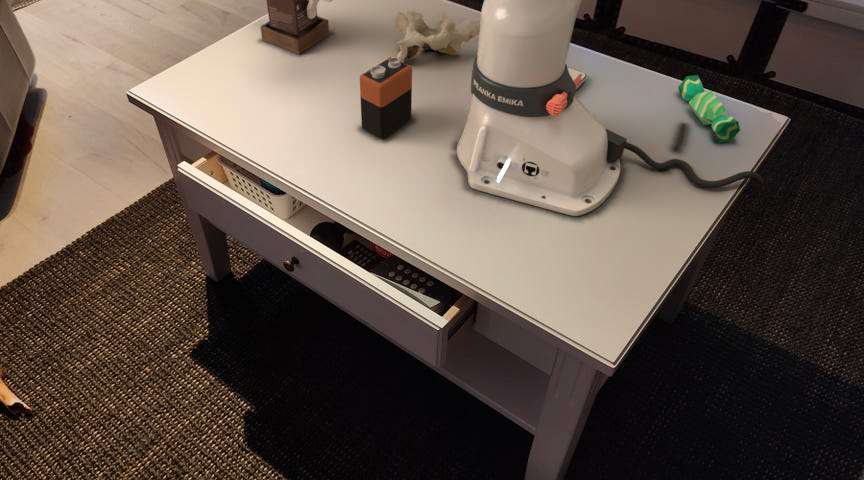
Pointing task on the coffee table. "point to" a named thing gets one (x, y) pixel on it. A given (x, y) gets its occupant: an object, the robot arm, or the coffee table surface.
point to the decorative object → (432, 34)
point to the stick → (680, 136)
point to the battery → (386, 97)
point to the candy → (709, 109)
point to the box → (289, 15)
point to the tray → (295, 36)
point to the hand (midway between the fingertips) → (293, 10)
